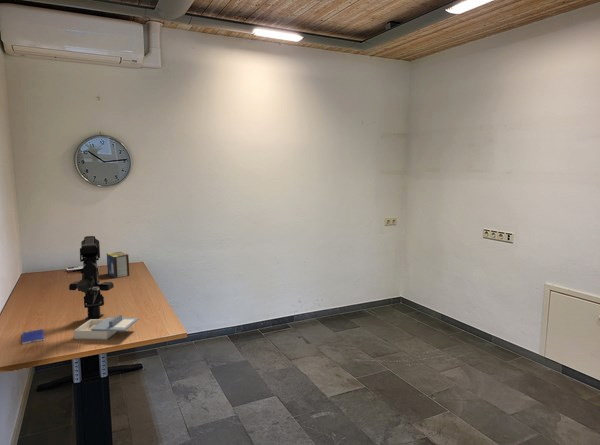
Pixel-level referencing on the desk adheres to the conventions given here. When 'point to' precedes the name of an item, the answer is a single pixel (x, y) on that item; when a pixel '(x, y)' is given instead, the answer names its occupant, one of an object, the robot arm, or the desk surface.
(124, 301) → the desk surface
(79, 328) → the box
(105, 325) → the lid
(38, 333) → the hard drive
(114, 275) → the protein box
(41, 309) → the desk surface
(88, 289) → the robot arm
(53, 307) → the desk surface
